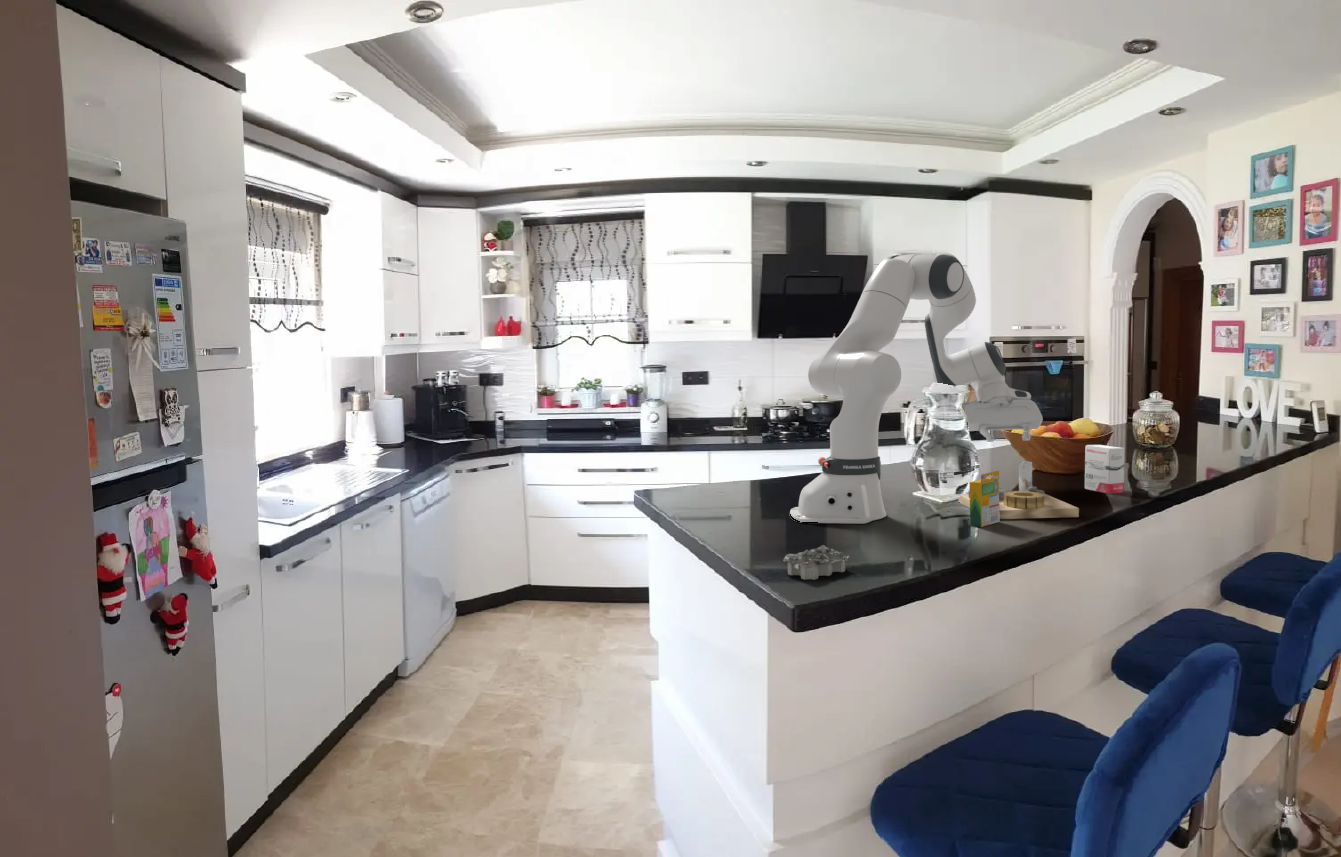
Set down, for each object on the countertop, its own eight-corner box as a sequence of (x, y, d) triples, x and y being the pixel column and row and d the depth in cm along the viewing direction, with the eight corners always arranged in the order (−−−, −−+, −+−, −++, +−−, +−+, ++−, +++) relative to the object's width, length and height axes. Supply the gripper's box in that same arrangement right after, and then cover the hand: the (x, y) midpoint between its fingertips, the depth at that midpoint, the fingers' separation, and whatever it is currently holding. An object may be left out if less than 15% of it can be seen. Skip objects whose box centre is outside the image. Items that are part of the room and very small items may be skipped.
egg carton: (807, 583, 129) (806, 560, 129) (780, 573, 136) (779, 551, 135) (853, 571, 135) (852, 549, 134) (824, 562, 141) (824, 541, 141)
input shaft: (1021, 498, 190) (1021, 463, 190) (1017, 496, 193) (1017, 461, 193) (1033, 497, 190) (1034, 462, 189) (1028, 495, 193) (1029, 461, 192)
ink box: (1125, 492, 192) (1125, 447, 191) (1108, 494, 191) (1109, 448, 190) (1099, 487, 200) (1099, 443, 199) (1083, 489, 199) (1083, 445, 198)
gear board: (987, 519, 169) (987, 499, 169) (958, 502, 189) (958, 484, 189) (1078, 516, 168) (1078, 497, 167) (1040, 499, 188) (1040, 481, 187)
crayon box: (987, 520, 169) (987, 469, 168) (1000, 522, 166) (1000, 470, 165) (969, 525, 164) (968, 473, 163) (981, 527, 162) (981, 474, 161)
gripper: (960, 395, 208) (972, 433, 199) (1035, 392, 207) (1051, 431, 198) (955, 409, 213) (966, 448, 204) (1029, 407, 212) (1043, 445, 203)
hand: (1009, 439), depth 201 cm, fingers open, 8 cm apart
